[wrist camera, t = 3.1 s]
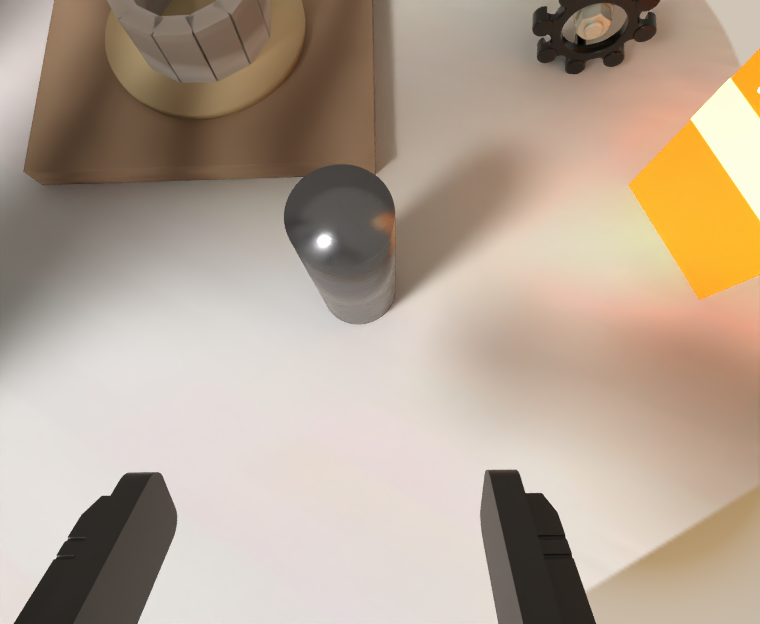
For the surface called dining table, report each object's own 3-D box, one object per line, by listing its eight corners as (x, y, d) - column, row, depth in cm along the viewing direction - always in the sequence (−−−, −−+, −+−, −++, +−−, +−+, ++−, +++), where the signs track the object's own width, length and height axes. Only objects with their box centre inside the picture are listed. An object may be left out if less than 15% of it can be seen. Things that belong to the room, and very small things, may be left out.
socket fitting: (42, 184, 28) (-40, 128, 23) (82, -53, 33) (21, -146, 27) (375, 174, 28) (370, 114, 22) (371, -65, 32) (366, -164, 27)
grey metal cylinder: (322, 325, 26) (282, 268, 17) (323, 255, 27) (285, 166, 18) (396, 323, 26) (396, 265, 16) (394, 254, 27) (393, 162, 17)
